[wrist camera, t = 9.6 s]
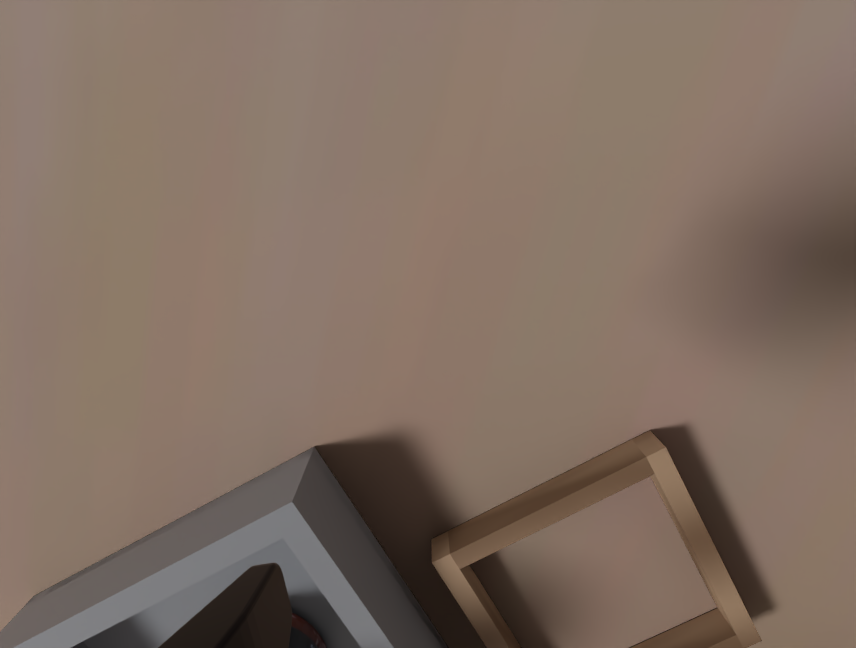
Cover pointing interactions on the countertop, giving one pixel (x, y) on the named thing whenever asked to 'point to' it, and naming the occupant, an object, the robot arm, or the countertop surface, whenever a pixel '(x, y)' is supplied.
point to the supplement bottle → (304, 634)
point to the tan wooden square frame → (569, 493)
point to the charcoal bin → (238, 572)
